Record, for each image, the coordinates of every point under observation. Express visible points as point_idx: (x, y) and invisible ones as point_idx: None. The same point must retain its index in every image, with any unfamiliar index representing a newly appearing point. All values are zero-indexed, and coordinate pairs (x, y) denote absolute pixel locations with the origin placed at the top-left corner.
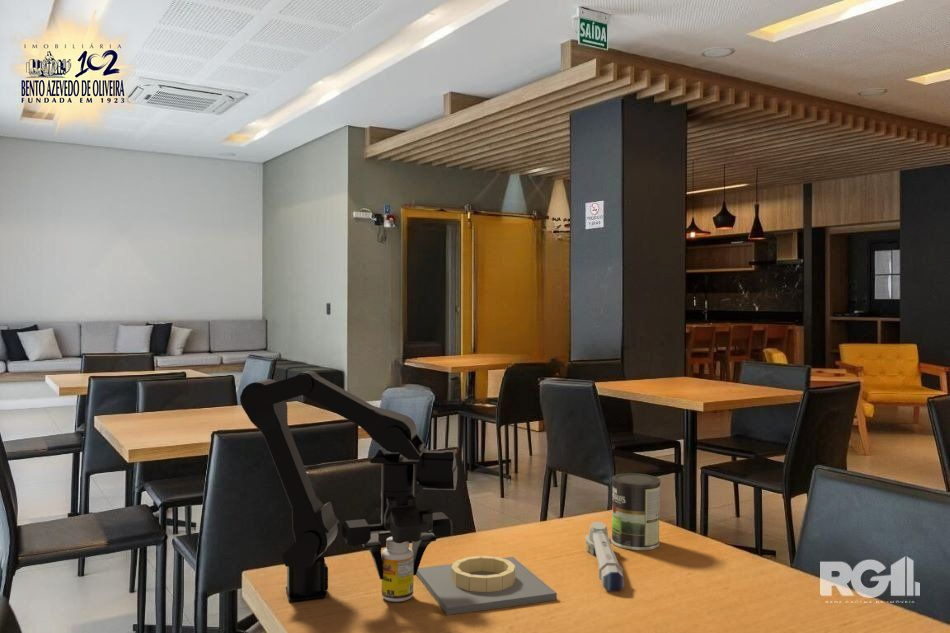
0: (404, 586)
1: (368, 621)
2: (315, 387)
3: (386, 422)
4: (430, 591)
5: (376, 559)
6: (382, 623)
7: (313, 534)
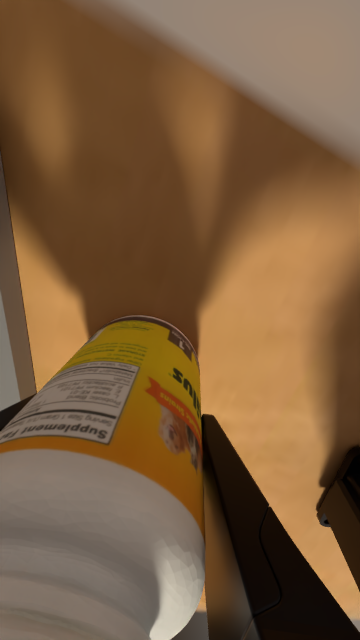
0: (117, 335)
1: (333, 197)
2: None
3: None
4: (25, 349)
5: (277, 536)
6: (291, 145)
7: None
